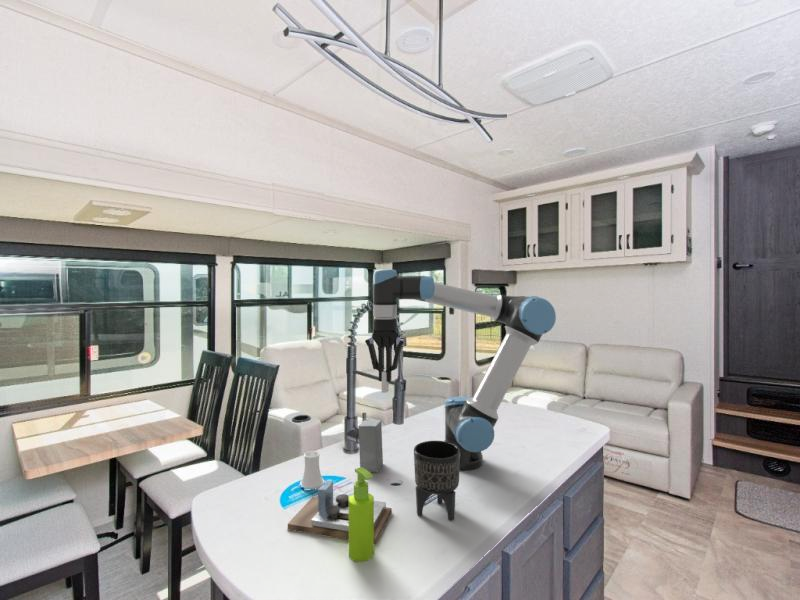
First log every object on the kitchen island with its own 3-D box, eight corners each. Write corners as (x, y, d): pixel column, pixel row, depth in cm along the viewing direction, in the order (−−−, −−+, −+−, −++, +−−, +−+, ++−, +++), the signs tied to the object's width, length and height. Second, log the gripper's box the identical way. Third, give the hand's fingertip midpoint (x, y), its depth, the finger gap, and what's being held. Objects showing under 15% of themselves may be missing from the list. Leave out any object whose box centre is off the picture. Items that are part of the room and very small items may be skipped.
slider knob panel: (385, 507, 111) (385, 480, 111) (370, 535, 98) (370, 505, 98) (332, 499, 115) (332, 474, 115) (311, 525, 102) (311, 496, 102)
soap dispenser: (359, 567, 89) (358, 479, 89) (344, 551, 95) (343, 468, 94) (381, 557, 93) (380, 472, 92) (365, 542, 98) (365, 461, 98)
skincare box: (377, 473, 135) (377, 427, 135) (357, 471, 137) (357, 425, 136) (383, 462, 143) (383, 419, 143) (364, 461, 145) (364, 417, 144)
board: (391, 513, 111) (391, 496, 111) (375, 544, 98) (375, 525, 97) (312, 501, 117) (312, 485, 117) (287, 529, 104) (287, 511, 104)
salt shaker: (315, 492, 122) (315, 460, 122) (295, 488, 125) (294, 456, 125) (328, 481, 129) (328, 451, 129) (309, 477, 132) (308, 447, 132)
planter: (469, 512, 112) (469, 449, 111) (439, 531, 103) (439, 463, 102) (434, 495, 121) (434, 436, 121) (404, 511, 112) (404, 448, 112)
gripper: (407, 317, 130) (407, 389, 130) (369, 316, 133) (369, 387, 134) (401, 319, 123) (401, 395, 123) (361, 318, 126) (361, 393, 127)
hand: (385, 391), depth 129 cm, fingers closed
